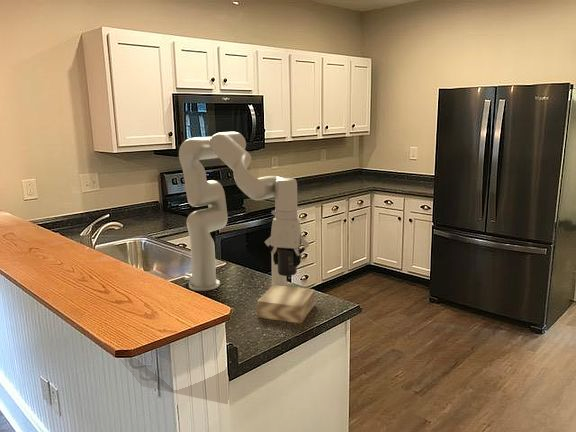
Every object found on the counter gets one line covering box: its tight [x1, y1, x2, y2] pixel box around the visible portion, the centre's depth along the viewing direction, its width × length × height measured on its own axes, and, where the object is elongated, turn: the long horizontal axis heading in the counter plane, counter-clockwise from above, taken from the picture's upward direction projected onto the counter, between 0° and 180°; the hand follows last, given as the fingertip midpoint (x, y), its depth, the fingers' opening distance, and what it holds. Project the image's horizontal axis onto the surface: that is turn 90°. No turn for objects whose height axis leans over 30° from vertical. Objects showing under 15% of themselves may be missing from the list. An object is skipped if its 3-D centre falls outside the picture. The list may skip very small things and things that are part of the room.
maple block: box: [256, 285, 315, 324], centre depth 165 cm, size 16×16×6 cm
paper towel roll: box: [270, 250, 288, 287], centre depth 186 cm, size 7×6×21 cm
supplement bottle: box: [277, 248, 298, 277], centre depth 161 cm, size 7×7×12 cm
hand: (287, 264), depth 162 cm, fingers closed on supplement bottle, 6 cm apart
